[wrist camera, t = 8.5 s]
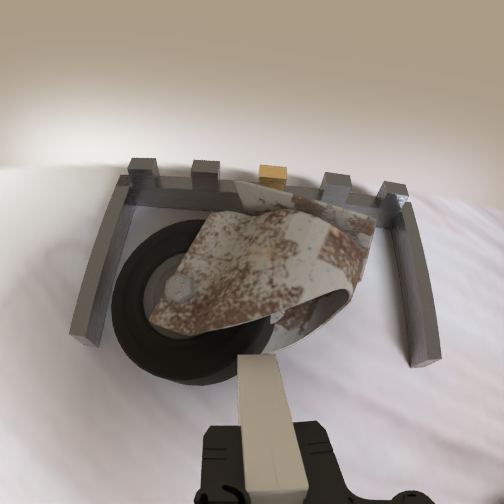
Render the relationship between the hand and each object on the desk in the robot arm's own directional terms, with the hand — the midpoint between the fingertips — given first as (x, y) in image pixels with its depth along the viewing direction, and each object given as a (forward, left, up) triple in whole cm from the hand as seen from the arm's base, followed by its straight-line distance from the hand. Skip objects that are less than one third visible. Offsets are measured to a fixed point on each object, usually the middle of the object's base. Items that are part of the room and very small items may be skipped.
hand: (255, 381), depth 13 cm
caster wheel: (+1, -4, -4) cm, 6 cm away
